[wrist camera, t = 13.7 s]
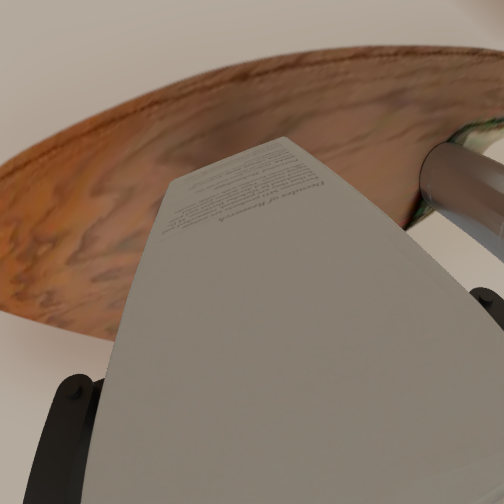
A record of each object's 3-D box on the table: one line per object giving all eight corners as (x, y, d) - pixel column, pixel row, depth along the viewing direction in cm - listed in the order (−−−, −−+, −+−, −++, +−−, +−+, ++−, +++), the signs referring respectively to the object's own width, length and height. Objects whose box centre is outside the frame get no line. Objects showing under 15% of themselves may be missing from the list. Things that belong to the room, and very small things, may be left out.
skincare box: (325, 268, 18) (461, 523, 5) (225, 307, 18) (276, 589, 6) (280, 124, 14) (618, 424, 1) (156, 175, 14) (65, 600, 1)
